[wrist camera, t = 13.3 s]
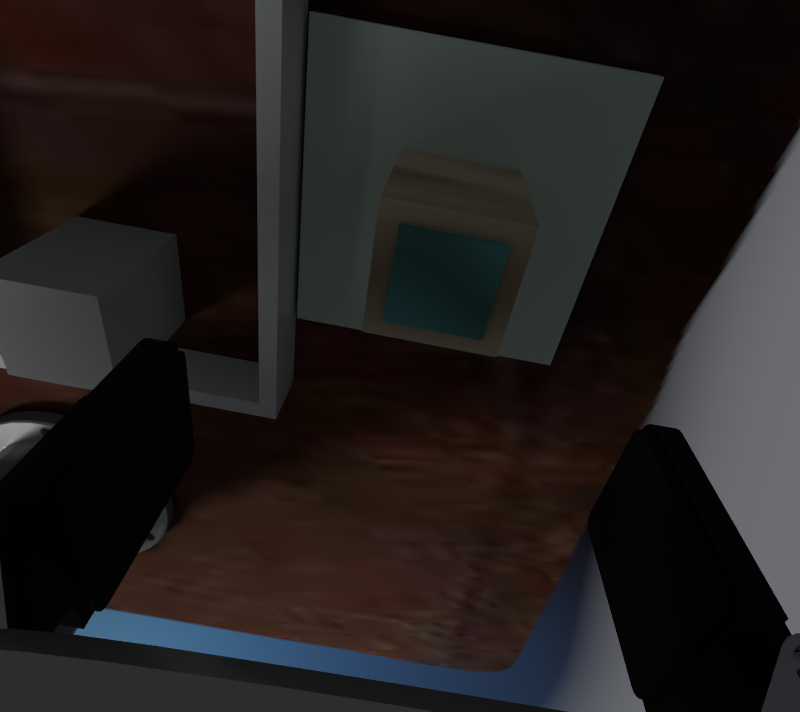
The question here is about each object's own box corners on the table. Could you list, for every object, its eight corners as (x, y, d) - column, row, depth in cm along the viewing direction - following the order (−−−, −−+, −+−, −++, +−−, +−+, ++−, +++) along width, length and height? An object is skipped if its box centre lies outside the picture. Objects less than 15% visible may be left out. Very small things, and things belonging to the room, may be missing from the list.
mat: (548, 358, 24) (550, 365, 24) (300, 311, 24) (296, 318, 24) (658, 75, 18) (664, 77, 17) (313, 11, 18) (309, 11, 17)
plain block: (185, 319, 25) (118, 394, 21) (97, 303, 26) (8, 374, 21) (176, 234, 23) (96, 296, 18) (77, 216, 23) (-29, 273, 18)
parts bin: (293, 381, 27) (275, 419, 24) (1, 326, 27) (-46, 358, 24) (315, -164, 15) (285, -197, 13) (-204, -260, 15) (-334, -311, 13)
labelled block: (489, 277, 22) (497, 360, 17) (385, 257, 22) (360, 335, 17) (520, 170, 19) (540, 229, 14) (402, 147, 19) (379, 198, 14)
